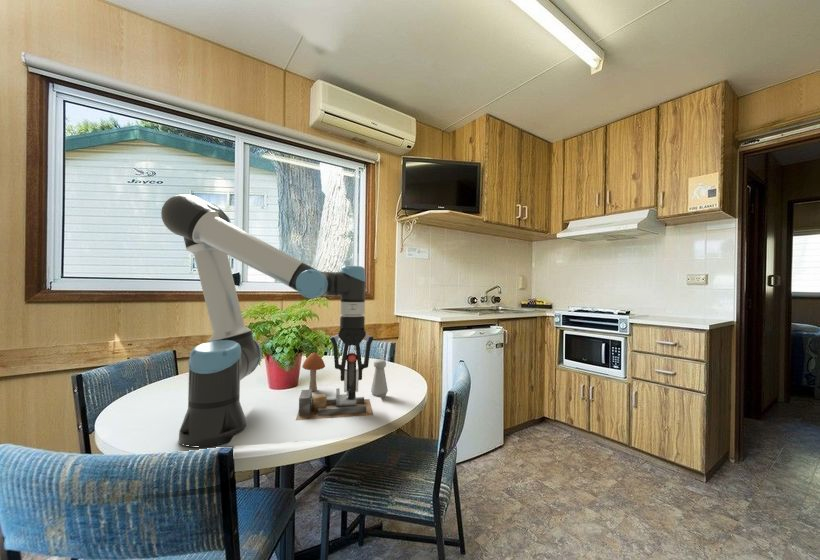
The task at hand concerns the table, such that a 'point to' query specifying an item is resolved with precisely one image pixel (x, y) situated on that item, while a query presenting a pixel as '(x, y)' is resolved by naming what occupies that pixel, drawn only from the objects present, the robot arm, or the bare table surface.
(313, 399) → the brown wooden cube
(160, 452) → the table surface
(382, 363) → the salt shaker
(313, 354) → the mushroom
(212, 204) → the robot arm
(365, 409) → the press bench
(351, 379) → the handle
